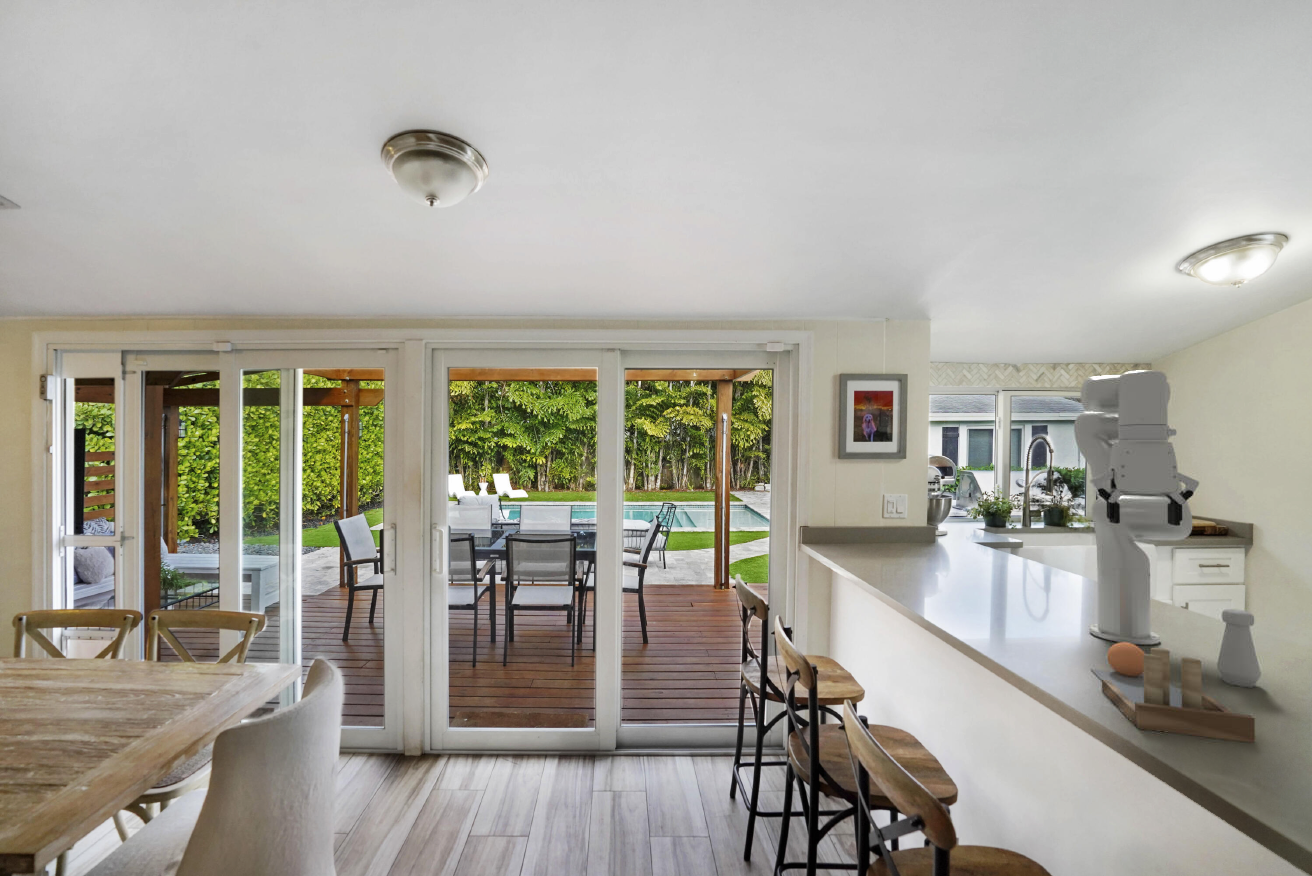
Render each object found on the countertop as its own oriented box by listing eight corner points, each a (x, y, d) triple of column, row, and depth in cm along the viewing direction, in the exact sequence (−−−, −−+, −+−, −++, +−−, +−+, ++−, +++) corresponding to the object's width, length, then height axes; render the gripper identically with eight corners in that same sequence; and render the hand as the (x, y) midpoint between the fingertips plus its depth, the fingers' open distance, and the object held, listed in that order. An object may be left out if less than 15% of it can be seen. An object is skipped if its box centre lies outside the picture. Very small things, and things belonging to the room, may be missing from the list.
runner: (1090, 670, 119) (1090, 669, 119) (1160, 677, 116) (1160, 676, 116) (1148, 728, 94) (1148, 727, 94) (1239, 739, 91) (1239, 738, 91)
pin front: (1148, 701, 105) (1148, 647, 105) (1166, 703, 104) (1165, 648, 104) (1154, 706, 102) (1154, 651, 103) (1172, 708, 102) (1172, 653, 102)
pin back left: (1178, 713, 100) (1178, 656, 100) (1197, 715, 99) (1196, 658, 99) (1186, 719, 98) (1185, 661, 98) (1205, 722, 97) (1204, 663, 97)
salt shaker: (1269, 690, 109) (1268, 615, 109) (1231, 688, 110) (1230, 614, 111) (1245, 678, 115) (1244, 607, 115) (1209, 676, 116) (1208, 605, 116)
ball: (1102, 668, 120) (1102, 636, 120) (1140, 671, 118) (1139, 640, 118) (1114, 679, 115) (1113, 646, 115) (1153, 683, 113) (1153, 649, 113)
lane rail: (1102, 690, 109) (1101, 670, 109) (1200, 701, 105) (1200, 680, 105) (1138, 728, 94) (1138, 705, 94) (1254, 742, 90) (1254, 718, 90)
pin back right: (1141, 709, 101) (1140, 653, 102) (1159, 711, 101) (1158, 655, 101) (1147, 715, 99) (1147, 658, 99) (1166, 717, 98) (1165, 659, 98)
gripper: (1186, 435, 122) (1187, 523, 122) (1083, 435, 127) (1084, 520, 127) (1207, 434, 115) (1209, 528, 114) (1098, 434, 120) (1099, 524, 120)
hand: (1143, 523), depth 121 cm, fingers open, 9 cm apart
